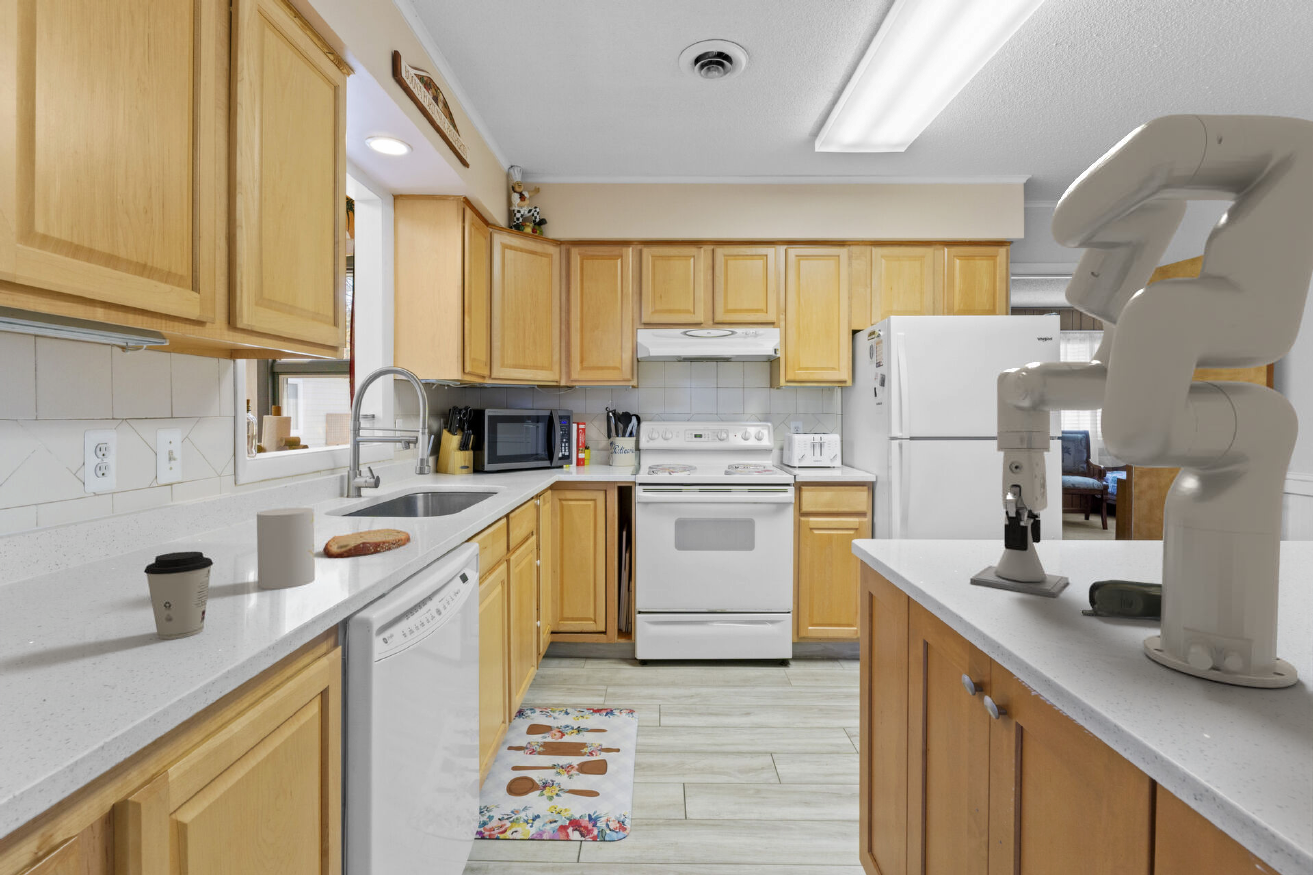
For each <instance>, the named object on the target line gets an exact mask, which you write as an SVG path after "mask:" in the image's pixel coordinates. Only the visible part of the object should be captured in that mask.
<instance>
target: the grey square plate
mask: <svg viewBox="0 0 1313 875" xmlns="http://www.w3.org/2000/svg"><path fill="white" fill-rule="evenodd" d="M996 567H997V566H995V565H994V566H993V565H988V566H987V567H985V568H984V569H983V570H981V571H979V572H978V573H976V574H975V575H973V576H972V577H970V581H969V584H972V585H979V586H984V587H988V588H989V587H992V588H995V587H996V589H1002V590H1008V591H1012V592H1013V591H1014V592H1019V591H1020V592H1019V593H1026V594H1031V593H1032V594H1031V595H1039V596H1043V595H1045V596H1044V597H1049V598H1056V597H1057V596H1058V595H1059V594H1060V592H1061V591H1062V590H1063V589H1064V588H1065V587H1066V586H1067V585H1068V583H1069V577H1068V576H1061V575H1055V574H1049V573H1045V574H1046V577H1047V579H1045V580H1042V581H1040V582H1034V581H1017V580H1012V579H1007V578H1003V577H1001V576H999V575H996V574H994V572H995V569H996ZM1058 593H1059V594H1058Z"/></svg>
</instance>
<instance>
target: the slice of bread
mask: <svg viewBox="0 0 1313 875" xmlns="http://www.w3.org/2000/svg"><path fill="white" fill-rule="evenodd" d="M410 537H411V536H410V534H409V532H407V531H405V530H404V531H403V530H399V529H395V528H394V529H393V528H382V529H381V528H380V529H374V530H373V529H372V530H371V529H370V530H363V531H358V532H353V533H349V534H343V535H334V536H332V538H330V539H329V540H328V541H327V542H326V543H325V545H324V547H323V549H322V551H323V552H322V553H323V555H324V556H325V557H326V558H327V559H348V558H354V557H361V556H372V555H377V554H381V553H385V552H389V551H393V550H397V549H399V548H401V547H403V546H404V547H405V545H408V544H409V543H410V542H411V538H410ZM407 543H408V544H407Z"/></svg>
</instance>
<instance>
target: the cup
mask: <svg viewBox="0 0 1313 875" xmlns="http://www.w3.org/2000/svg"><path fill="white" fill-rule="evenodd" d="M314 514H315V512H314V508H309V507H287V508H276V509H267V510H262V511H259V512H257V513H256V539H257V540H256V541H257V543H256V544H257V545H256V546H257V549H256V550H257V552H256V553H257V586H258V588H259V589H262V590H286V589H292V588H296V587H301V586H305V585H308V584H311V583H313V582H315V580H316V574H315V572H316V569H315V568H316V567H315V566H316V565H315V520H314V519H315V515H314Z"/></svg>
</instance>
